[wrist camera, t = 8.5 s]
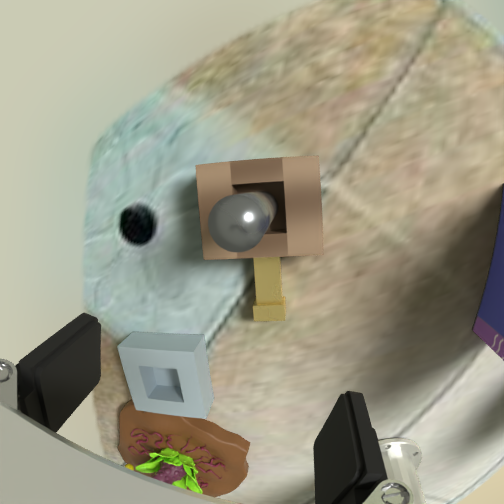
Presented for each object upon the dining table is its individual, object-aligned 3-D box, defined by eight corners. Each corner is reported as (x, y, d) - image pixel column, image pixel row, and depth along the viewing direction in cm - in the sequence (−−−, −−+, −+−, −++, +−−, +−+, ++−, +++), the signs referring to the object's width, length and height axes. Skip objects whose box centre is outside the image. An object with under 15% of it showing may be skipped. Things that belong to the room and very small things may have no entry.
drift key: (285, 311, 32) (285, 320, 30) (256, 311, 33) (253, 321, 30) (279, 191, 30) (278, 192, 28) (248, 193, 30) (244, 194, 28)
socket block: (318, 243, 30) (323, 254, 26) (217, 248, 32) (203, 259, 27) (314, 160, 29) (318, 155, 24) (210, 168, 30) (195, 165, 25)
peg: (279, 221, 28) (267, 251, 15) (247, 223, 28) (210, 253, 16) (277, 189, 27) (263, 192, 15) (245, 191, 28) (205, 197, 15)
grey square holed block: (214, 398, 36) (206, 418, 32) (148, 392, 37) (135, 409, 33) (204, 334, 34) (193, 351, 30) (133, 331, 35) (117, 346, 31)
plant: (228, 499, 41) (215, 549, 30) (121, 458, 42) (93, 502, 31) (267, 431, 36) (258, 497, 25) (128, 379, 37) (86, 429, 27)
